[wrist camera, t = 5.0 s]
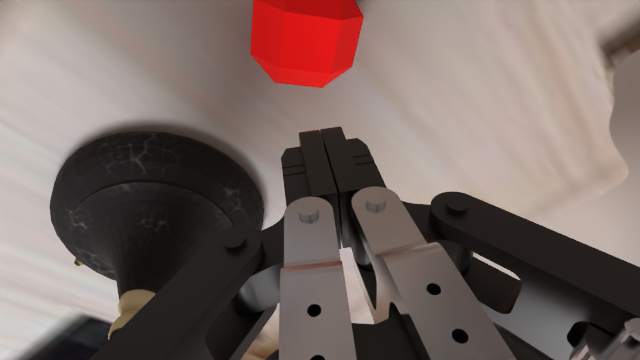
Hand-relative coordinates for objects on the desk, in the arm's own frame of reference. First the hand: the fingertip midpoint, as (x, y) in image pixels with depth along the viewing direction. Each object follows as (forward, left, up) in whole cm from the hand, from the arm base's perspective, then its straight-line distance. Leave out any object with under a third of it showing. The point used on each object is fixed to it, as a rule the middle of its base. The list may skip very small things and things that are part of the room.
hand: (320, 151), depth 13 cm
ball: (-1, +2, -23) cm, 23 cm away
